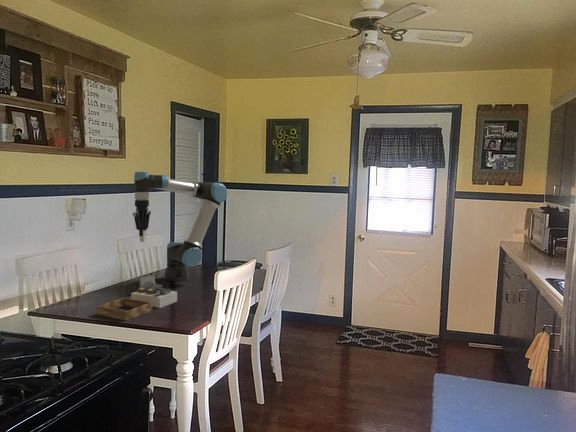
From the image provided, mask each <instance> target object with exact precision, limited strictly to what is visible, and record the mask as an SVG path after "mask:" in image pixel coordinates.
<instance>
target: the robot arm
mask: <svg viewBox="0 0 576 432" xmlns="http://www.w3.org/2000/svg"><path fill="white" fill-rule="evenodd" d="M133 181H134V199H135V200H134V207H136V208H135V212H132V215H133V218H134V225H135V229H136V230H138V234H139V243H145V242H146V231H148V229H149V223H150V217H151V213H152V212H151V211H150V210H149V206H150V205H149V204H150V200H149V199H150V192H149V191H150V190H151V189H154V190H160V191H166V192H170V193H171V192H172V193H178V194H181V195H182V194H184V195H189V197H191V198H195V199H199V200H201V202H202V205H201V207H200V209H199V212H198V214H197V216H196V219H195V222H194V223H193V225H192V229H191V230H190V233H189V236H188V238H187V239H185V240H184V241H175V242H168V243H167V244H166V269H165V271H164V275H163V280H165V281H168V282H184V281H187V280H189V278H190V276H189V275H190V274H189V272H188V268H187V267H195V266H198V265H199V264H200V263H201V261H203V260H202V259H203V252H202V250H203V245H202V244H203V243H202V242H203V240H204V238H205V236H206V233H207V231H208V229H209V226H210V223H211V221H212V219H213V216H214V214H215V211H216V210H217V209H218V208H220V206H221V204H222V203H223V202H225V201H226V200H227V199H228V198H227V197H228V194H229V193H228V190H227V187H226V186H225V185H224V184H223V183H220V182H205V181H204V182H199V181H198V182H197V181H192V182H188V181H183V180H179V179H173V178H169V177H168V175H166V174H149V171H135V172H134V176H133Z"/></svg>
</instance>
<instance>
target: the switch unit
mask: <svg viewBox="0 0 576 432" xmlns="http://www.w3.org/2000/svg"><path fill="white" fill-rule="evenodd" d="M130 294H131V295H130V299H135V300H141V301H147V302H153V308H156V309H161V308H164V307H166V306H169V305H171V304H175V303H177V302H178V291H175V290H171V292H159V291H157V292H155V293H153V294H150V293H146V292H145V293H142V292H138V290H137V291H134V292H131V293H130Z"/></svg>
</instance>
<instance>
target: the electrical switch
mask: <svg viewBox="0 0 576 432" xmlns="http://www.w3.org/2000/svg"><path fill="white" fill-rule="evenodd" d="M146 283H154V285H155V284H157V283H156V278H155V275H148V276H143V277H139V279H137V284H138V289H139V288H140V287H142V286H143V285H145V284H146Z"/></svg>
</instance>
